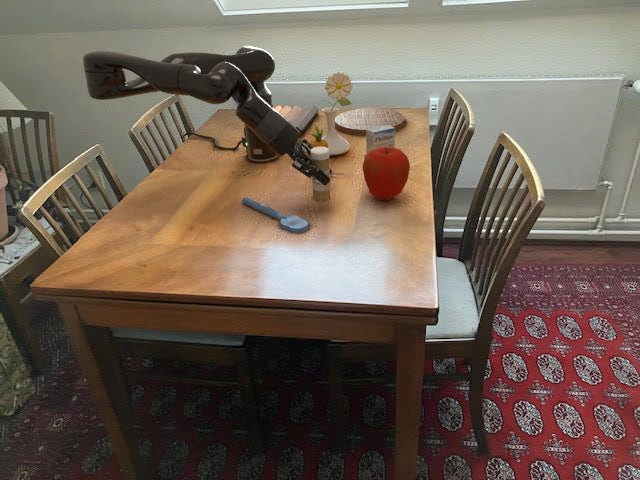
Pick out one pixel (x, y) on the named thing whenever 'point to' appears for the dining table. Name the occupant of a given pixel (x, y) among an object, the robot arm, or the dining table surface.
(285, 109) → the pan flute
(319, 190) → the sprinkles bottle
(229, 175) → the dining table surface
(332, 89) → the flower in vase
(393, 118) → the trivet
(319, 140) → the carrot
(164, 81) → the robot arm
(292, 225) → the spoon
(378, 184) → the apple
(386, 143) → the medicine box
